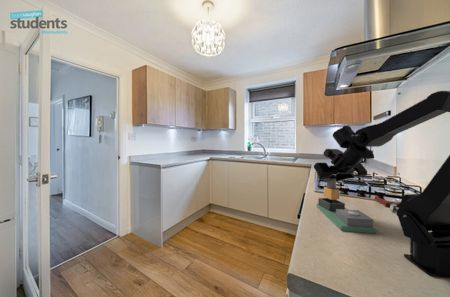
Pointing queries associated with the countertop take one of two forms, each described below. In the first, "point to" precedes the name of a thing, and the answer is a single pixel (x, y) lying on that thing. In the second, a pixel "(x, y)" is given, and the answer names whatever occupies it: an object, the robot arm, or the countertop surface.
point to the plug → (331, 190)
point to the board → (342, 225)
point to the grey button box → (354, 218)
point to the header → (331, 204)
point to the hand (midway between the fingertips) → (329, 181)
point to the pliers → (387, 203)
